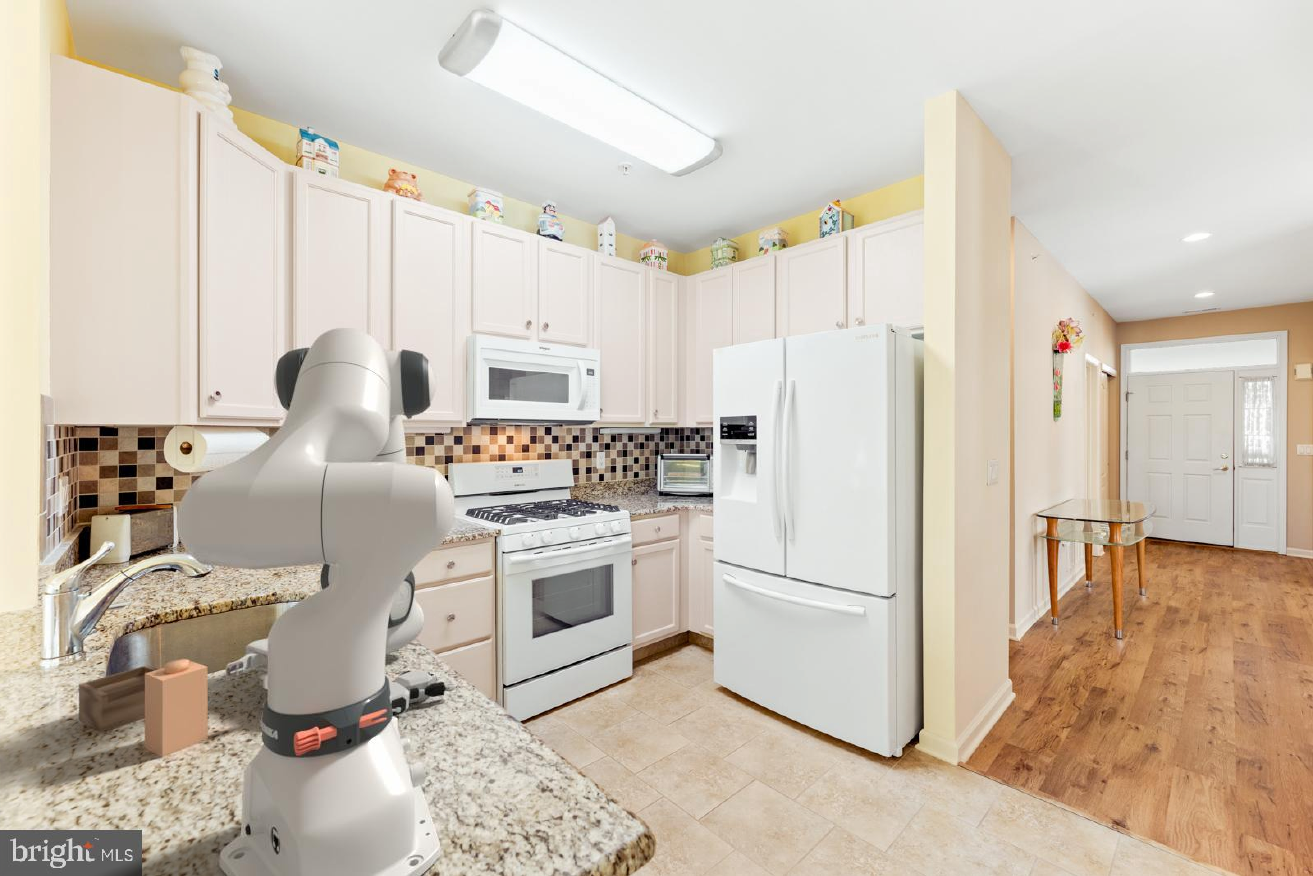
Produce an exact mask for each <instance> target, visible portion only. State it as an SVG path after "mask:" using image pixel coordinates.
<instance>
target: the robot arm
mask: <svg viewBox="0 0 1313 876" xmlns="http://www.w3.org/2000/svg"><path fill="white" fill-rule="evenodd" d="M273 383H274V384H273V385H274V389H275V393H276V396H277V398H278V400H279V403H280V405H281V406H282V408H283V409H285V410H286V411H287V414H286V417H285V420H284V422H283V423H282V425H281V426H280V428H278V429H277V431H276V432H275V433H274V434H273V435H272V436H271V437H270V438H269V439H268V440H266V441H265V442H264V443H262V444H261V445H260V446H258V447H257V448H255V449H254V450H253V451H250V452H249V453H247V454H246V455H244V456H243V457H242V458H241V457H240V458H239V459H237V460H235V461H232V462H230V463H228V464H227V465H224V466H221V467H218V468H216V469H213V470H210V471H207V472H205V473H203V474H201V476H200V477H198V478H197V479H196V480H195V481H194V482H193V483H192V484H191V485H190V486H189V488H188V489H187V490H186V492H185V493H184V494H183V497H182V499H181V501H180V503H179V505H178V509H177V514H176V529H177V533H178V537H179V539H180V541H181V544H182V545H183V547H184V549H185V550H186V551H187V553H188V554H189V555H190V556H191V557H192V558H193V559H194V560H196V561H197V562H198V563H199V564H200V565H204V566H213V567H223V568H233V569H242V570H243V569H246V570H265V569H267V570H268V569H278V568H279V569H280V568H292V567H295V568H296V567H303V566H304V567H305V566H317V565H322V568H321V571H320V586H321V590H320V591H317V592H315V593H314V594H311V595H310V596H308V597H306V598H304V599H302V600H301V601H299V602H297V603H296V604H294V605H292V606H291V607H289V608H287V610H285V611H284V612H283V613H281V615H279V616H278V618H277V619H276V620H275V622H274V623H273V625H272V626H271V628H270V631H269V633H268V636H267V638H262V639H258V640H254V641H252V642H250V643H249V644H247V645H246V646H245V655H244V656H243V657H241V658H239V659H238V660H236V661H232V662H229V663H227V664H226V665H225V675H226V676H229V677H231V678H232V677H237V676H239V675H243V674H244V672H245V671H247V670H249V669H250V670H254V669H256V670H259V671H263V672H265V673H266V674H263V675H261V676H260V677H259V687H260V688H263V689H264V690H267V698H266V700H265V701H264V702H263V705H262V713H261V716H260V728H261V741H262V743H263V745H262V747H261V748H260V749H259V751H258V752H257V754H256V755H255V756H254V758H253V759H252V760H250V762H249V763H248V765H247V766H246V767H245V768H244V772H243V783H242V786H243V788H242V802H241V804H242V805H241V824H240V825H241V828H240V835H239V836H237V837H236V838H234V839H233V840H232V841H231V842H230V843H228V844H227V845H226V846H224V847H223V849H222V850H221V851H220V853H219V859H218V860H219V861H218V866H219V868H220V869H221V871H223V872H224V874H225V875H226V876H422V875H423V874H424V873H425V872H426V871H428V870H429V868H431V867H432V866H433V864H435V863H436V861H437V860H438V859H439V858H440V856H441V855H440V854H442V852H441V851H442V850H441V843H440V839H439V836H438V833H437V830H436V827H435V824H434V822H433V819H432V816H431V812H430V809H429V806H428V804H427V803H428V802H427V800H426V798H425V795H424V791H423V789H422V786H423V785H424V784H425V781H426V777H425V776H426V773H425V767H424V766H425V765H424V763H423V762H422V761H418V762H415V763H411V764H409V763H408V762H407V758H406V755H405V753H407V752H409V751H410V750H411V741H410V738H409V737H406V738H401V734H400V731H399V727H398V722H399V721H398V720H399V719H398V718H397V717H394V716H393V712H392V704H391V703H392V695H391V690H390V687H389V681H390V680H389V677H387V676H386V656H387V655H389V654H392V653H394V652H396V651H399V650H402V649H403V648H404V647H406V646H408V645H409V644H411V643H412V642H414V641H415V640H416V639H417V638H418V637H419V636H420V634H421V632H422V631H423V628H424V623H425V615H424V611H423V608H422V607H421V606H420V604H419V603H418V602H417V599H416V596H415V591H416V580H415V575H414V572H413V571H412V570H414V568H415V567H416V566H417V565H418V564H419V563H420V562H421V561H422V560H423V559H424V558H425V557H427V556H428V555H429V554H430V553H432V552H434V551H435V550H436V549H437V548H438V547H439V546H440V545H441V544H442V543H443V541H444V540H445V538H447V536H448V534H449V533H450V531H451V529H452V526H453V523H454V520H455V514H456V499H455V495H454V493H453V490H452V488H451V485H450V483H449V482H448V480H447V479H446V478H445V476H444V474H442V473H441V472H440V471H439V470H438V469H437V468H433V467H430V466H423V465H418V464H411V463H407V447H406V438H405V437H406V436H405V429H404V423H403V417H402V416H405V417H406V418H407V420H411V419H412V418H413V417H414V416H417V415H419V414H422V413H424V412H425V411H427V409H429V408H430V407H431V403H432V402H433V399H434V397H435V394H436V393H435V392H436V388H437V380H436V376H435V372H434V369H433V368H432V366H431V365H430V362H429V359H428V357H426V356H425V355H424V353H421V352H419V351H414V350H408V349H401V350H396V349H395V350H393V349H386V348H383V347H382V345H381V344H380V343H379V342H378V341H377V340H376V339H375V338H374V337H373V336H371V335H370V334H369V333H367V332H365V331H363V330H360V329H355V328H350V327H339V328H337V327H336V328H333V329H330V330H327V331H325V332H323V333H322V334H320V335H319V336H318V337H317V338H316V339H315V340H314V342H313V343H312V345H311V346H310V347H301V348H296V349H293V350H290V351H287V352H285V354H283V355H282V356H281V357H280V358H279V359H278V361H277V364H276V368H275V371H274V375H273Z"/></svg>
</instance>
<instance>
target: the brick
mask: <svg viewBox="0 0 1313 876" xmlns="http://www.w3.org/2000/svg"><path fill="white" fill-rule="evenodd" d="M208 668H209V667H208V666H206V665H203V664H200V663H197V662H194V661H192V660H189V658H187V659H186V658H181V659H176V660H171V661H168V662H166V663H164V664H163V668H157V669H158V670H155V671H152V672H148V673H145V718H144V749H146V750H148V751H150V752H152V753H154V754H155V755H157V756H159V757H161V758H165V757H167V756H169V755H172V754H174V753H177V752H179V751H181V750H184V749H186V748H189V747H191V746H194V745H196V744H199V743H202V742H204V741H207V740H208V734H209V733H208V730H209V729H208V724H209V723H208V715H209V714H208V711H209V710H208V703H209V702H208V697H209V696H208V694H209V692H208V687H209V686H208V682H209V681H208V676H209V675H208Z"/></svg>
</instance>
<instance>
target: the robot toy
mask: <svg viewBox="0 0 1313 876" xmlns="http://www.w3.org/2000/svg"><path fill="white" fill-rule="evenodd" d="M430 672H431V671H422V670H406V671H404V672H401V673H400V674H399V675H398V676H396V678H395V679H394V680H392V681H391V680H389V687H390V690H391V695H392V703H391V704H392V712H393V716H394V717H395V718H397V717H398V716H401V715H403V714H404V713H405V712H406V711H407V710H408V709H409V708H410V706H409V705H410V704H413V703H420V701H421V702H423V700H424V701H426V700H427V699H428V697H431V698H435V697H441V696H442V697H443V696H445V692H452V691H454V690H455V689H456V686H455V685H454V684H453V683H446V684H445V683H444V681H440V682H437V681H438V677H437V674H436V673H430Z"/></svg>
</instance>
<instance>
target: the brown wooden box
mask: <svg viewBox="0 0 1313 876" xmlns="http://www.w3.org/2000/svg"><path fill="white" fill-rule="evenodd" d="M158 669H159V668H157V667H154V666H152V665H148V664H146V665H142V666H139V667H135V668H132V669H128V670H125V671H121V672H118V673H114V674H111V675H108V676H103V677H100V678H97V679H93V680H89V681H85V682H83V683H80V684H78V720H79V721H81V722H83V723H84V724H87V725H88V726H90V727H92V728H93V729H95V730H97V731H99V732H100V733H104V732H107V731H110V730H113V729H116V728H119V727H122V726H124V725H127V724H131V723H134V722H137V721H140V720H142V719H145V673H148V672H152V671H155V670H158Z"/></svg>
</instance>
